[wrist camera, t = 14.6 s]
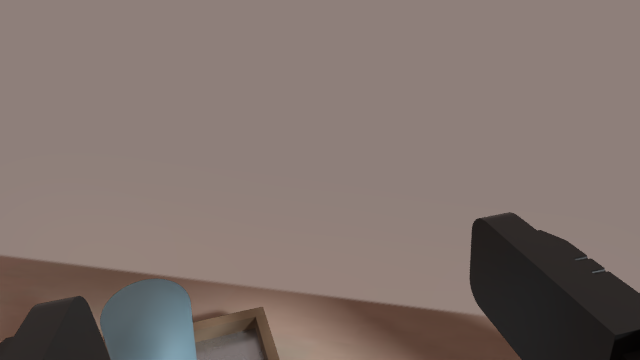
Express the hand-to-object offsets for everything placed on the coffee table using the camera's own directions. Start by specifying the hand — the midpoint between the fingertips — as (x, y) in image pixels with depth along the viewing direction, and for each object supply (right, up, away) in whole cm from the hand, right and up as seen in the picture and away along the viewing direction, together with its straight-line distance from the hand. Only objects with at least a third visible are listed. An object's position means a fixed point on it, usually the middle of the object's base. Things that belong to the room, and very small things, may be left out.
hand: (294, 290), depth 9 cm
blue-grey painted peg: (-9, -17, +20) cm, 28 cm away
